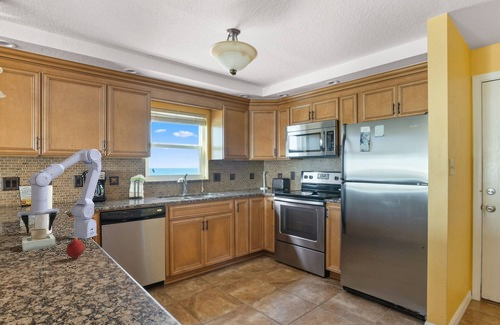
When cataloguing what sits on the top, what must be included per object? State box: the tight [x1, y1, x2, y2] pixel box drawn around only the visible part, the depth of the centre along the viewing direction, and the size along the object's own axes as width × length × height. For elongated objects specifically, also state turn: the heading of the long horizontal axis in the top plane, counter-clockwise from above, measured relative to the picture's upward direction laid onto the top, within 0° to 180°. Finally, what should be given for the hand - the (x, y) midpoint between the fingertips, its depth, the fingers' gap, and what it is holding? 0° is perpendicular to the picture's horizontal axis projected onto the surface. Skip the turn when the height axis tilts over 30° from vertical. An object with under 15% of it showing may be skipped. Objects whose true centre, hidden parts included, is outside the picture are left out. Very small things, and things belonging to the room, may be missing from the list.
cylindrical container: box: [34, 184, 54, 235], centre depth 147 cm, size 7×7×25 cm
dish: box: [21, 233, 56, 252], centre depth 122 cm, size 11×11×4 cm
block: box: [30, 228, 47, 241], centre depth 122 cm, size 5×5×6 cm
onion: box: [65, 237, 86, 260], centre depth 105 cm, size 6×6×8 cm
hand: (38, 231), depth 122 cm, fingers open, 7 cm apart
